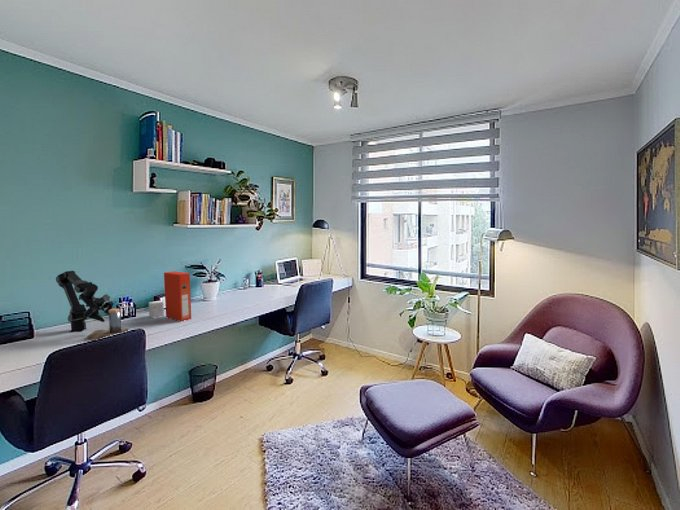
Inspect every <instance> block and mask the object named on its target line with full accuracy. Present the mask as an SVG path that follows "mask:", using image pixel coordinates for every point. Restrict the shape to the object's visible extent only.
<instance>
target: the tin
mask: <svg viewBox="0 0 680 510" xmlns="http://www.w3.org/2000/svg"><path fill="white" fill-rule="evenodd" d="M108 324H109V325H108V326H109V329H108V330H110V333H112V334H113V333H119V332H121V331H122V329H123V328H122V313H121V310H119V312H117V313H109V315H108Z"/></svg>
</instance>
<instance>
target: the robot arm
mask: <svg viewBox="0 0 680 510" xmlns="http://www.w3.org/2000/svg"><path fill="white" fill-rule="evenodd" d="M55 281H56V283H57V284H58V286H59V288H60V287H61V289H63V290H64V291H63V292H64V294H65V295H66V296H65V297H66V298H67V301H68V303H69V306H70V310H69V314H68V317H67V321H68V322H69V323H70V330H69V332H70V333H73V331H77V332H83V331H84V329H85V330H86V329H87V322H86V320H88V319H91V320H92V319H93V320H96V321H99V322H102V323H104V322H105V321H106V320H105V319H104V317H102V315H101V314H100V313H99V312H100V311H103V313H105V314H107V315H108V316H109V310H110V309H113V307H114V304H115V302H113V301H111V300H110V298H111V297H110V295H109V294H104V295H103V294H102V295H103V296H102V297H95V294H96V293H97V291H98V289H99V287H98V285H97V284H95V283H93V281H90V282H89V281H88V280H83V279H82V278H81V277H80V276H79V275H78V274H77V273H76V271H74V270H68V271H67V270H66V271H64V272H62V273H60V274H57V276H56V277H55ZM80 293H81V294H80ZM77 294H78V295H77ZM80 301H82V302H83V303H84V304H81V303H80Z"/></svg>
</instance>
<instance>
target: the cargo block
mask: <svg viewBox="0 0 680 510" xmlns="http://www.w3.org/2000/svg"><path fill="white" fill-rule="evenodd" d="M119 311H120V308H112V309H110V310H109V313H117V312H119Z"/></svg>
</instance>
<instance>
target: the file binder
mask: <svg viewBox="0 0 680 510" xmlns="http://www.w3.org/2000/svg"><path fill="white" fill-rule="evenodd" d="M190 278H191V275H190V272H189V273H188V272H182V271H175V270H174V271H173V270H172V271H167V272H163V279H164V280H163V281H164V299H165V300H164V302H165V318H166V317H168V318H167V319H169V318H172V319H171V320H173V319H176V320H175V321H177V320H180V321H179V322H181V321H182V322H185V321H184V320H186V321H189V320H188V319H190V320H192V305H191V304H192V301H191V279H190Z"/></svg>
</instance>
